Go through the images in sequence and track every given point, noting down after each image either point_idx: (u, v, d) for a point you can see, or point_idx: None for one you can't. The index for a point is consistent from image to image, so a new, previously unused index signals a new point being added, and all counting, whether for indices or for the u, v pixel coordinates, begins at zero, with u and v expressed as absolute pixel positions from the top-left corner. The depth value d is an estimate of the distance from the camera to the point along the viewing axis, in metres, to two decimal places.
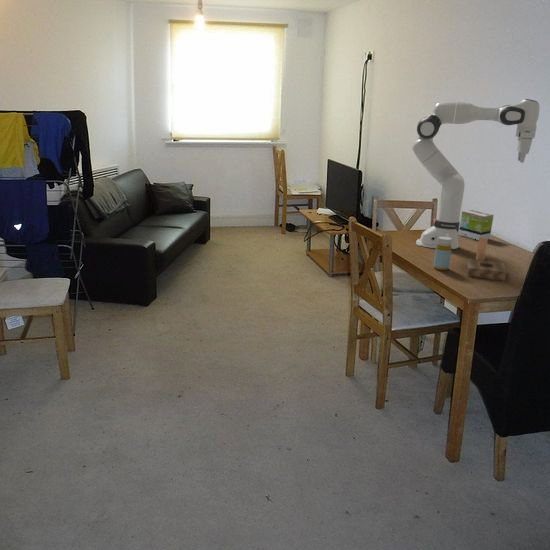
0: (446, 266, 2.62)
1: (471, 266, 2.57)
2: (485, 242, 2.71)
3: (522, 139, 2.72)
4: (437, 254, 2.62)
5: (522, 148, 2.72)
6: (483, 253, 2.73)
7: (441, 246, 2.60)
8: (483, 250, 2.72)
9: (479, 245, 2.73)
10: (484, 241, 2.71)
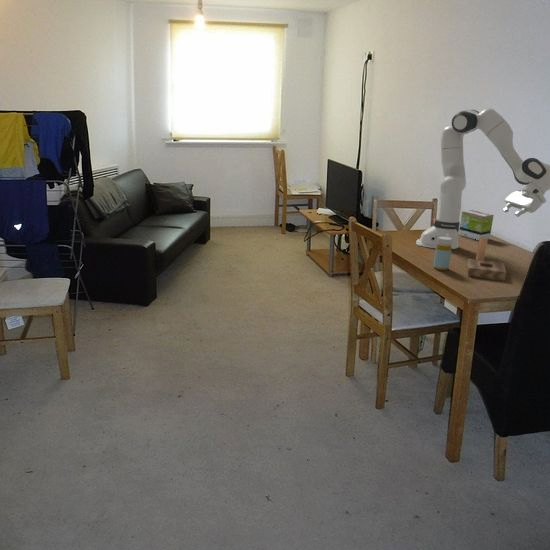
0: (446, 266, 2.62)
1: (471, 266, 2.57)
2: (485, 242, 2.71)
3: (537, 197, 2.62)
4: (437, 254, 2.62)
5: (533, 205, 2.61)
6: (483, 253, 2.73)
7: (441, 246, 2.60)
8: (483, 250, 2.72)
9: (479, 245, 2.73)
10: (484, 241, 2.71)
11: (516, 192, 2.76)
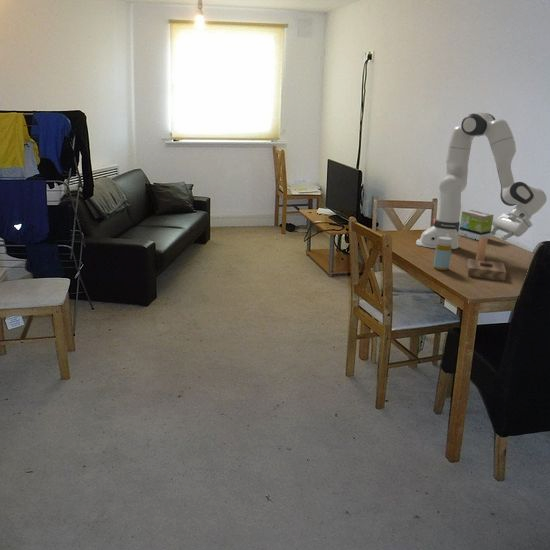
0: (446, 266, 2.62)
1: (471, 266, 2.57)
2: (485, 242, 2.71)
3: (523, 221, 2.64)
4: (437, 254, 2.62)
5: (519, 229, 2.64)
6: (483, 253, 2.73)
7: (441, 246, 2.60)
8: (483, 250, 2.72)
9: (479, 245, 2.73)
10: (484, 241, 2.71)
11: (503, 215, 2.79)
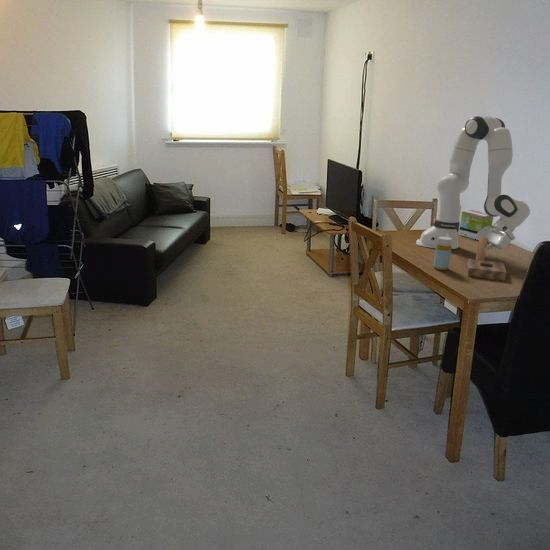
0: (446, 266, 2.62)
1: (471, 266, 2.57)
2: (485, 242, 2.71)
3: (506, 234, 2.64)
4: (437, 254, 2.62)
5: (502, 242, 2.64)
6: (483, 253, 2.73)
7: (441, 246, 2.60)
8: None
9: (479, 245, 2.73)
10: (484, 241, 2.71)
11: (487, 227, 2.79)
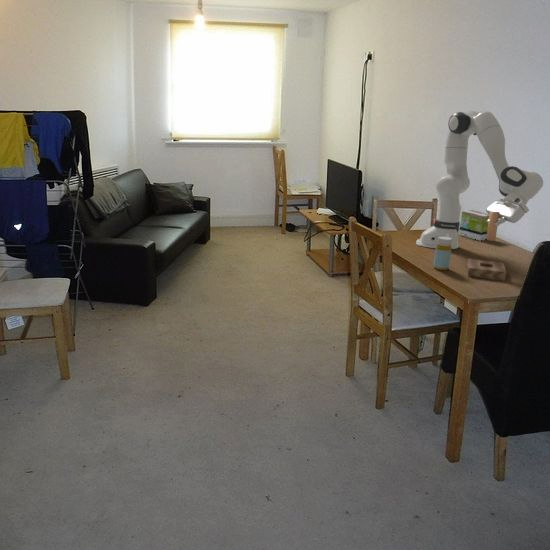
0: (446, 266, 2.62)
1: (471, 266, 2.57)
2: (497, 216, 2.54)
3: (519, 207, 2.47)
4: (437, 254, 2.62)
5: (515, 215, 2.47)
6: (495, 228, 2.56)
7: (441, 246, 2.60)
8: None
9: (490, 219, 2.56)
10: (496, 215, 2.54)
11: (498, 201, 2.62)
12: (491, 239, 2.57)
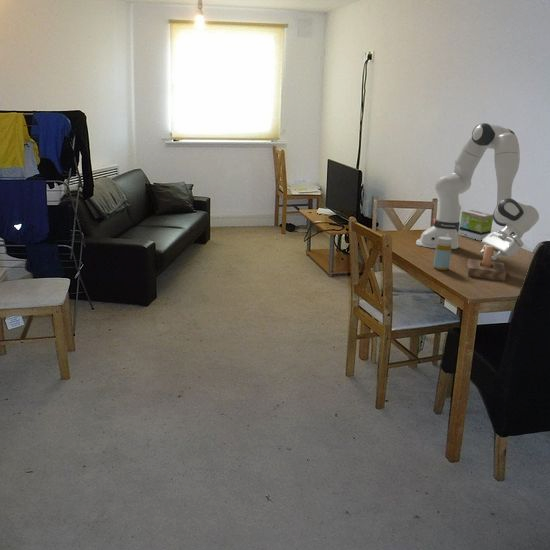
0: (446, 266, 2.62)
1: (471, 266, 2.57)
2: (491, 251, 2.56)
3: (514, 241, 2.49)
4: (437, 254, 2.62)
5: (510, 249, 2.48)
6: (489, 262, 2.58)
7: (441, 246, 2.60)
8: (489, 259, 2.57)
9: (485, 254, 2.58)
10: (490, 250, 2.56)
11: (493, 233, 2.64)
12: None
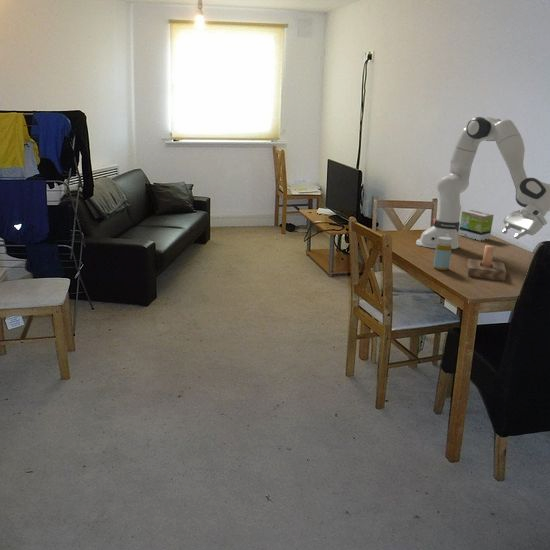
0: (446, 266, 2.62)
1: (471, 266, 2.57)
2: (491, 251, 2.56)
3: (538, 219, 2.48)
4: (437, 254, 2.62)
5: (533, 227, 2.47)
6: (489, 262, 2.58)
7: (441, 246, 2.60)
8: (489, 259, 2.57)
9: (485, 254, 2.58)
10: (490, 250, 2.56)
11: (515, 212, 2.63)
12: None
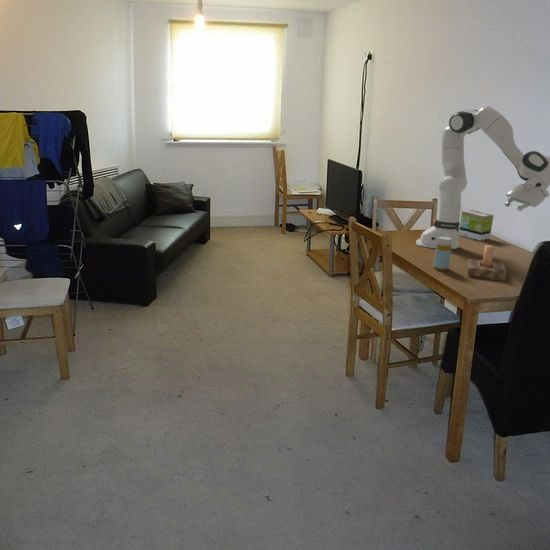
0: (446, 266, 2.62)
1: (471, 266, 2.57)
2: (491, 251, 2.56)
3: (540, 191, 2.53)
4: (437, 254, 2.62)
5: (536, 199, 2.52)
6: (489, 262, 2.58)
7: (441, 246, 2.60)
8: (489, 259, 2.57)
9: (485, 254, 2.58)
10: (490, 250, 2.56)
11: (518, 186, 2.67)
12: None
